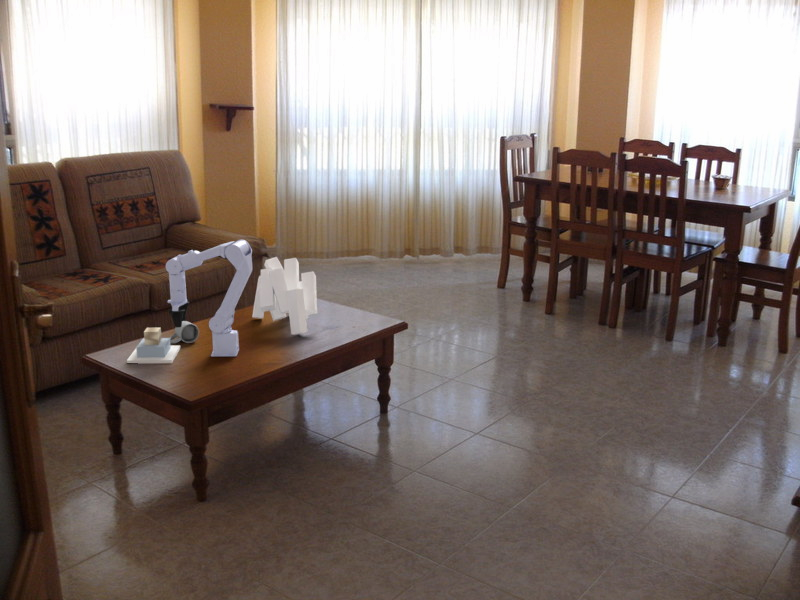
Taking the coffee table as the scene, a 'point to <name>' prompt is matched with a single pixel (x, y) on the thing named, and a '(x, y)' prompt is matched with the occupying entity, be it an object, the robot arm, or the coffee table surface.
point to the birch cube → (152, 336)
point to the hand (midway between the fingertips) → (180, 324)
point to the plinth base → (155, 360)
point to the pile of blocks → (286, 293)
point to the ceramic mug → (185, 333)
